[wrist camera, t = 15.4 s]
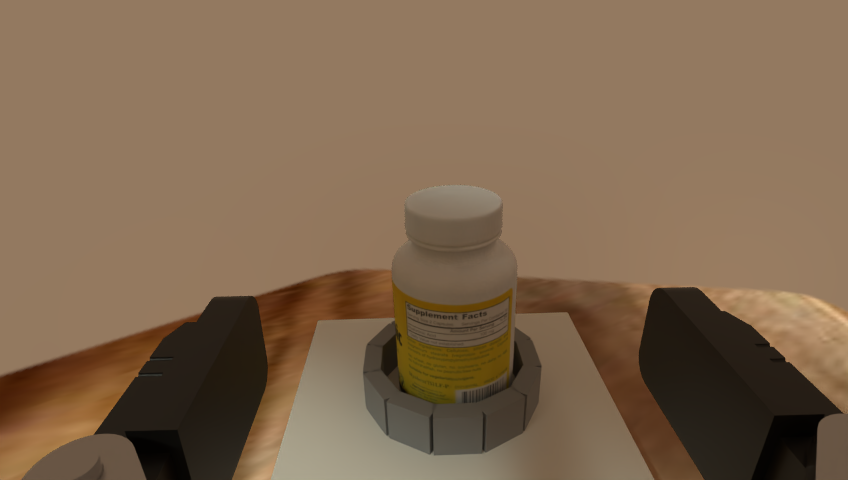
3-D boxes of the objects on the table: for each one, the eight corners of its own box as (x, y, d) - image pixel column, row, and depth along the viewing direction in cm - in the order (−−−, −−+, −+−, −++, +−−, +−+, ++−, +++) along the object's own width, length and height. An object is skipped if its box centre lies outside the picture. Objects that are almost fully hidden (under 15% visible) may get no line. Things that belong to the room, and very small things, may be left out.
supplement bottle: (424, 347, 28) (419, 174, 24) (522, 370, 26) (535, 186, 22) (378, 413, 24) (364, 213, 20) (493, 447, 22) (503, 233, 18)
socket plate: (263, 529, 19) (251, 475, 18) (319, 331, 31) (314, 291, 30) (661, 513, 20) (673, 459, 18) (566, 323, 31) (570, 283, 30)
